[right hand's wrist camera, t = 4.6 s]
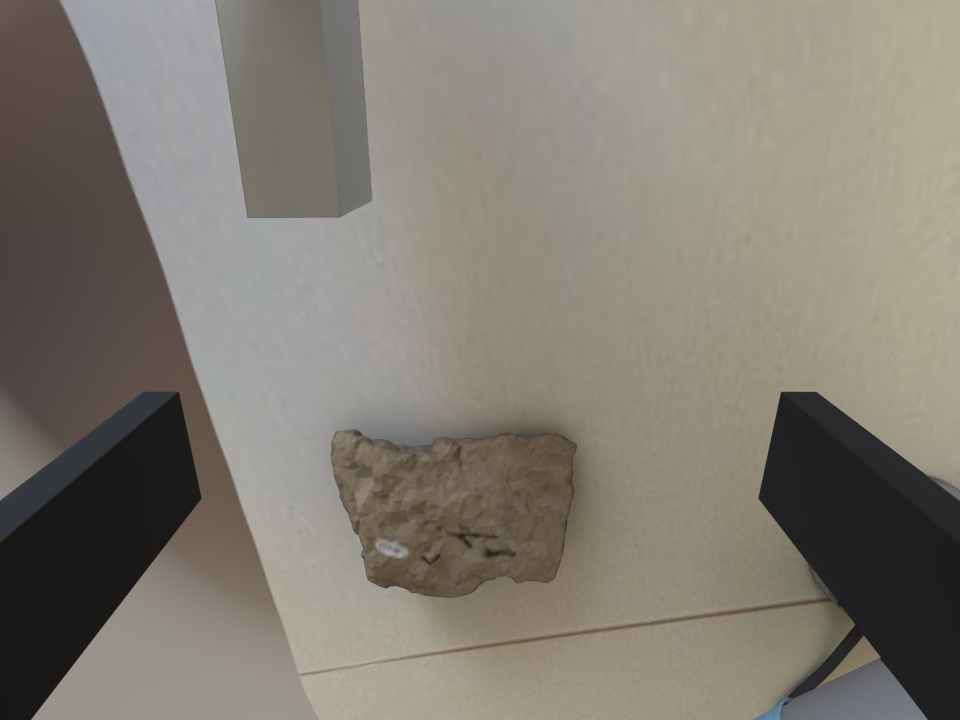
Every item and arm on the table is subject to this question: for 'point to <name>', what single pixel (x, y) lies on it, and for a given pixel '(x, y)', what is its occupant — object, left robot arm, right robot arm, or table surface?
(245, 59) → the bar
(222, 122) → the table surface
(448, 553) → the stone
